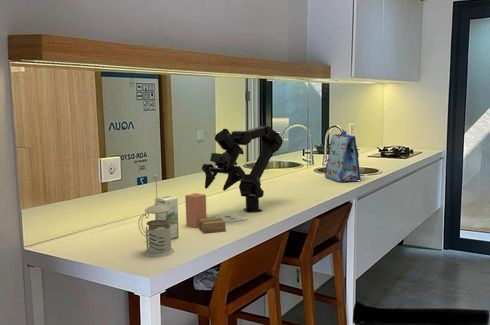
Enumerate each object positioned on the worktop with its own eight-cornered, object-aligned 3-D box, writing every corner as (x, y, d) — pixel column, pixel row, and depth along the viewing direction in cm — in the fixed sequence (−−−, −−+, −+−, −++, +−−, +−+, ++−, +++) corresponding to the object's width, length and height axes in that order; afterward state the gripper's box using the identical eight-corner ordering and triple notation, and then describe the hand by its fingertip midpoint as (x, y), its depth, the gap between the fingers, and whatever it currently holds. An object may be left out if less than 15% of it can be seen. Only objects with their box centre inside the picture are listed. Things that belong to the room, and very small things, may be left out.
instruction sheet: (214, 216, 207) (214, 216, 207) (233, 214, 212) (233, 213, 212) (226, 222, 197) (226, 221, 197) (247, 219, 201) (247, 218, 201)
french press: (164, 258, 154) (161, 177, 151) (132, 254, 158) (128, 176, 155) (180, 249, 163) (177, 172, 160) (149, 246, 167) (146, 171, 164)
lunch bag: (361, 181, 287) (361, 131, 284) (339, 183, 284) (339, 132, 280) (344, 176, 308) (344, 129, 305) (323, 178, 305) (323, 130, 301)
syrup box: (168, 235, 181) (166, 195, 179) (179, 237, 177) (177, 197, 175) (155, 238, 176) (153, 197, 174) (167, 241, 172) (165, 199, 171)
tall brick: (197, 223, 197) (195, 191, 196) (206, 225, 194) (205, 193, 192) (186, 226, 193) (185, 194, 192) (196, 228, 190) (195, 195, 188)
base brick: (199, 228, 189) (198, 219, 189) (219, 226, 192) (219, 217, 191) (204, 233, 182) (203, 224, 181) (225, 231, 184) (225, 221, 184)
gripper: (202, 144, 203) (185, 175, 196) (239, 145, 192) (223, 179, 185) (216, 160, 211) (200, 191, 204) (252, 162, 200) (237, 195, 193)
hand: (214, 189), depth 196 cm, fingers open, 9 cm apart
